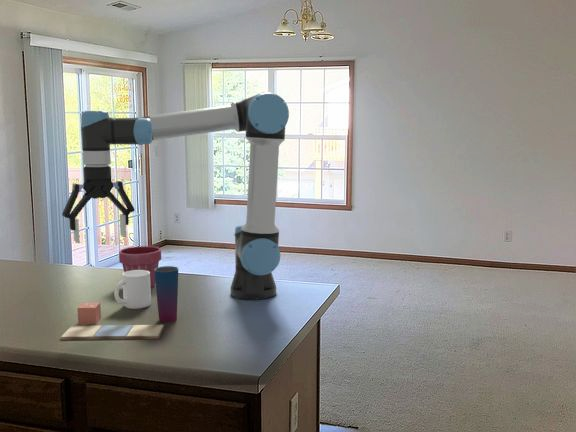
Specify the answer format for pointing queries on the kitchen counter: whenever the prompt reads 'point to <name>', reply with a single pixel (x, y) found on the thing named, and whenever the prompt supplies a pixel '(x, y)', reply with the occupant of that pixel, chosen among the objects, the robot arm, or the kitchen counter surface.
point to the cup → (167, 292)
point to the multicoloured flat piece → (113, 332)
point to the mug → (134, 289)
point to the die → (89, 313)
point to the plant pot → (141, 259)
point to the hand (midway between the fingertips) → (100, 238)
